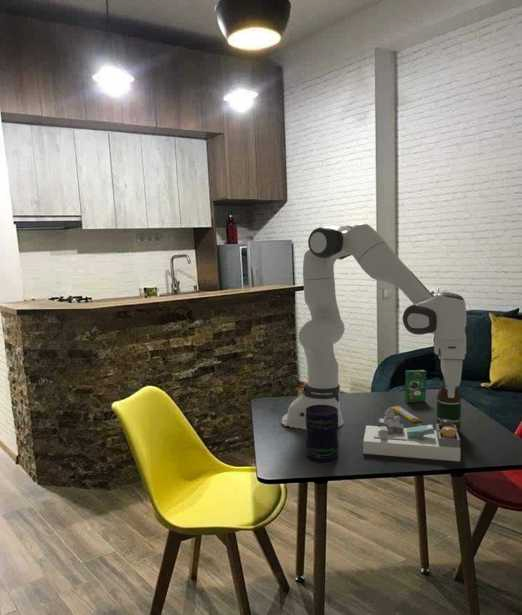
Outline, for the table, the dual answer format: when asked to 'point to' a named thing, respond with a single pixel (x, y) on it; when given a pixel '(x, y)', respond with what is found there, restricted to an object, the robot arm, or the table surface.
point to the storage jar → (322, 433)
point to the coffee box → (415, 386)
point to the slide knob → (383, 432)
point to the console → (412, 444)
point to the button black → (446, 423)
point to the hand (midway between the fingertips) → (449, 393)
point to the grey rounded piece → (391, 416)
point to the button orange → (448, 432)
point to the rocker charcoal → (396, 426)
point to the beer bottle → (449, 407)
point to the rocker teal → (414, 430)
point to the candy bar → (405, 414)
